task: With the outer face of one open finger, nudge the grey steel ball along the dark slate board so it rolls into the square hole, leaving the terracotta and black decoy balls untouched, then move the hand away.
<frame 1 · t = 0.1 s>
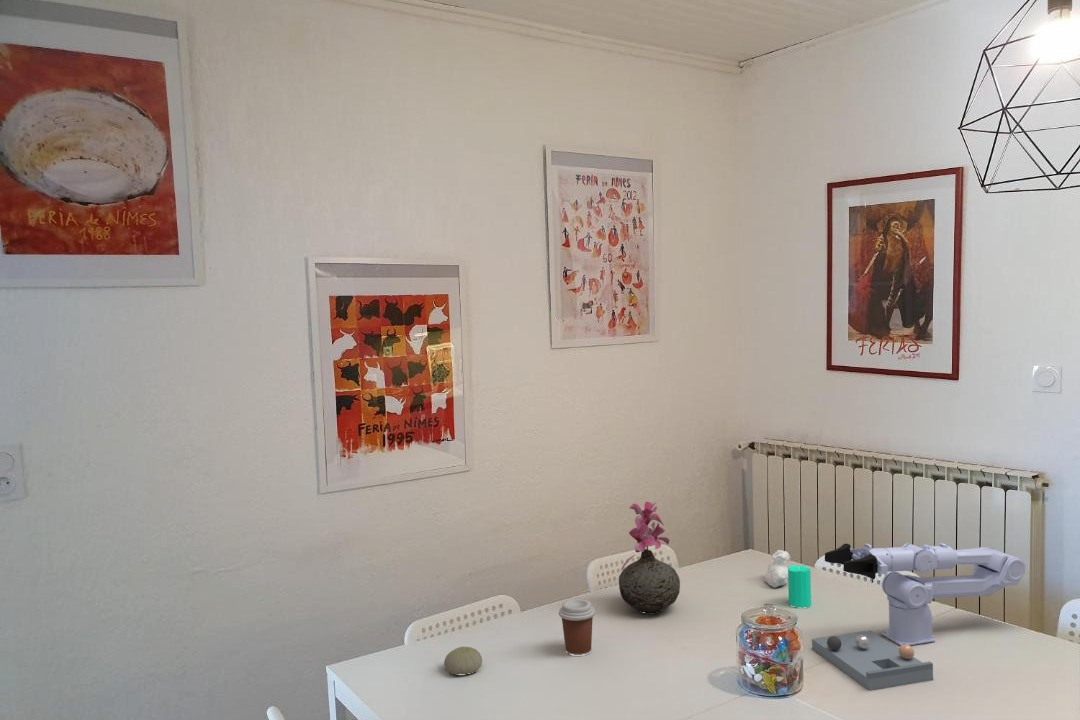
hand: (834, 562, 188), 22 cm above the table, tool horizontal, fingers open, 7 cm apart
board: (869, 663, 181), on the table
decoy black: (834, 643, 183), point 4 cm above the table, touching board
bust: (778, 584, 235), on the table
candle: (800, 605, 218), on the table
steel ball: (862, 642, 183), point 4 cm above the table, touching board
sea urchin shell: (463, 670, 187), on the table
vase: (649, 611, 219), on the table
coffee cup: (578, 651, 194), on the table
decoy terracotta: (906, 651, 177), point 4 cm above the table, touching board
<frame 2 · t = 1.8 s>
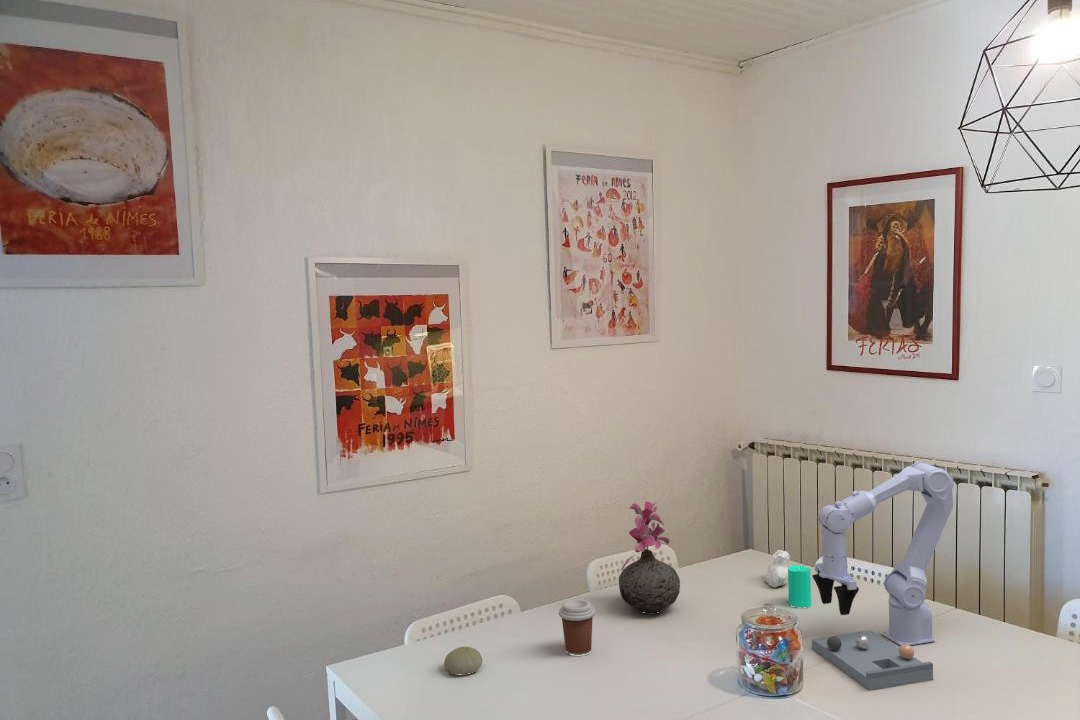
hand: (835, 608, 193), 8 cm above the table, tool pointing down, fingers open, 7 cm apart
nothing on the table moved.
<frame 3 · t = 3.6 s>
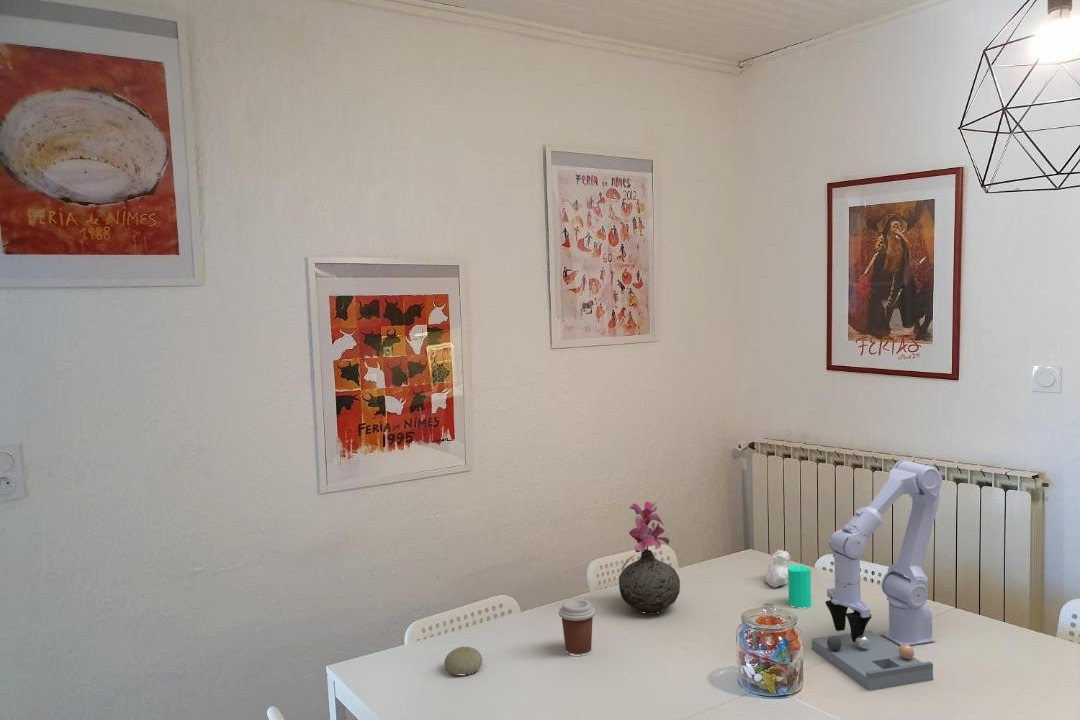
hand: (848, 635, 188), 3 cm above the table, tool pointing down, fingers open, 6 cm apart
steel ball: (862, 642, 183), point 4 cm above the table, touching board, gripper
everything else where it was.
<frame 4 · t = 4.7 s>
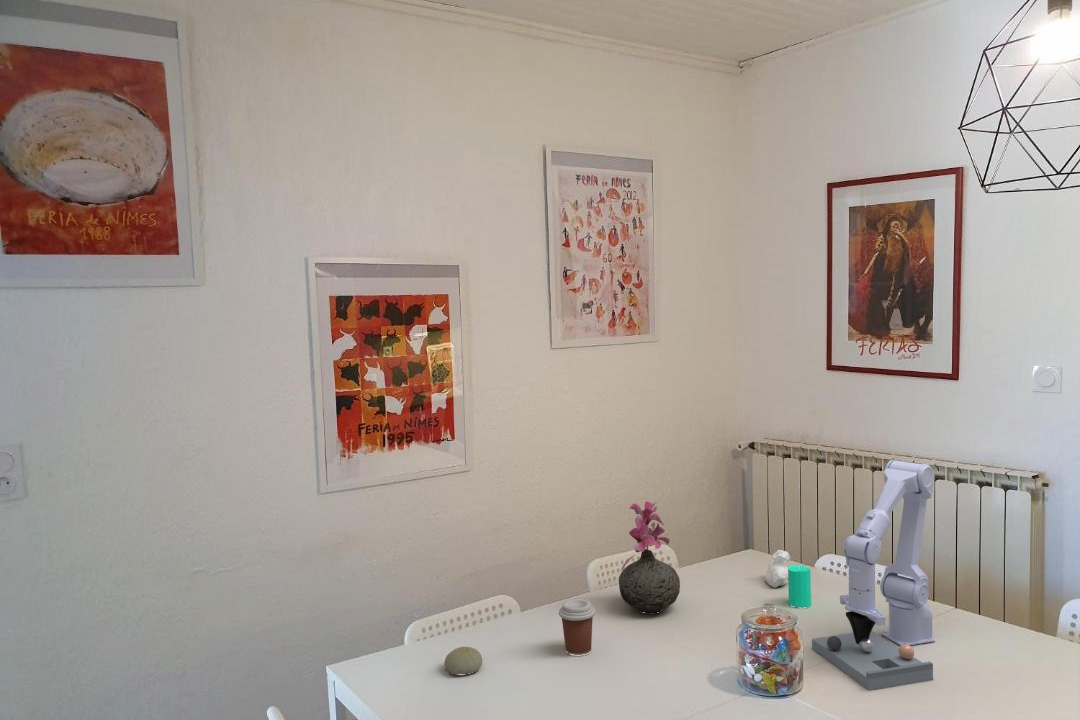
hand: (861, 644, 182), 4 cm above the table, tool pointing down, fingers closed, pressing on steel ball
steel ball: (866, 645, 181), point 4 cm above the table, tilted 62°, touching board, gripper
everything else where it was.
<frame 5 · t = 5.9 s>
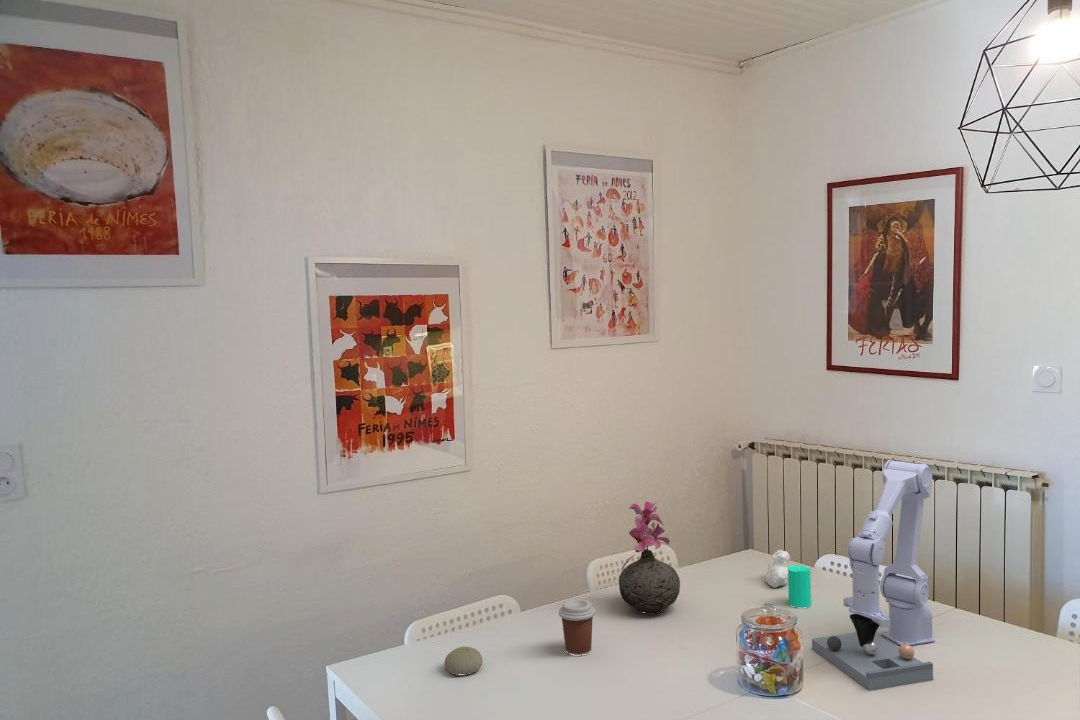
hand: (866, 646, 181), 4 cm above the table, tool pointing down, fingers closed, pressing on steel ball
steel ball: (870, 647, 180), point 4 cm above the table, tilted 116°, touching board, gripper
everything else where it was.
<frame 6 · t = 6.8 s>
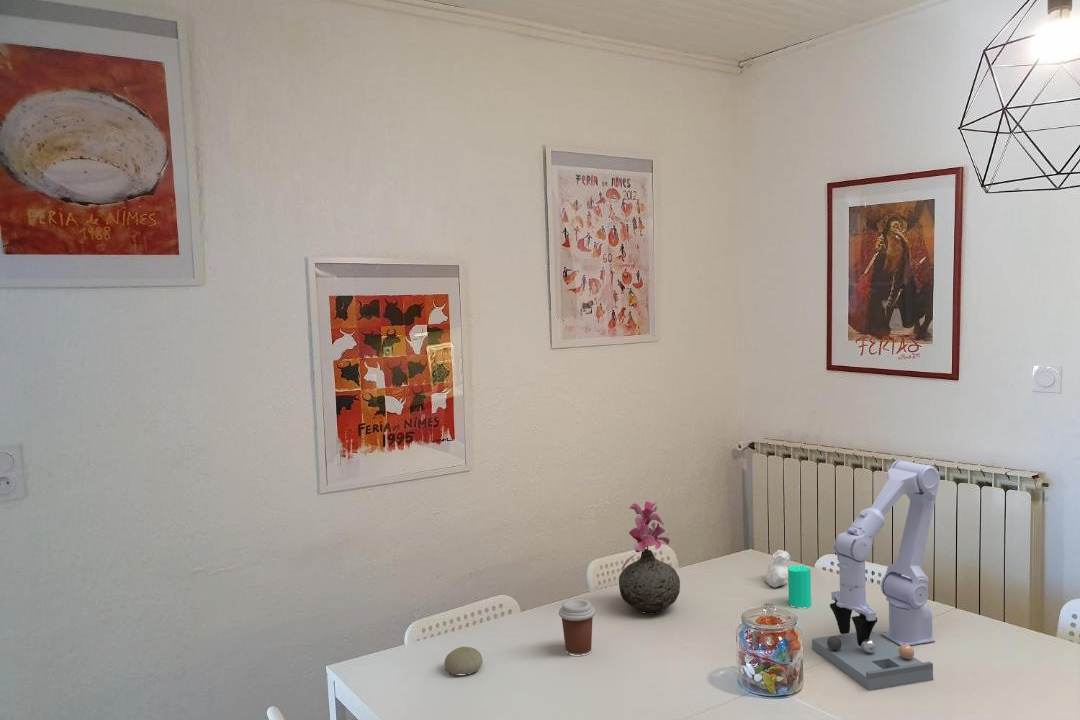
hand: (853, 639, 186), 3 cm above the table, tool pointing down, fingers open, 7 cm apart
steel ball: (868, 646, 181), point 4 cm above the table, tilted 84°, touching board, gripper
everything else where it was.
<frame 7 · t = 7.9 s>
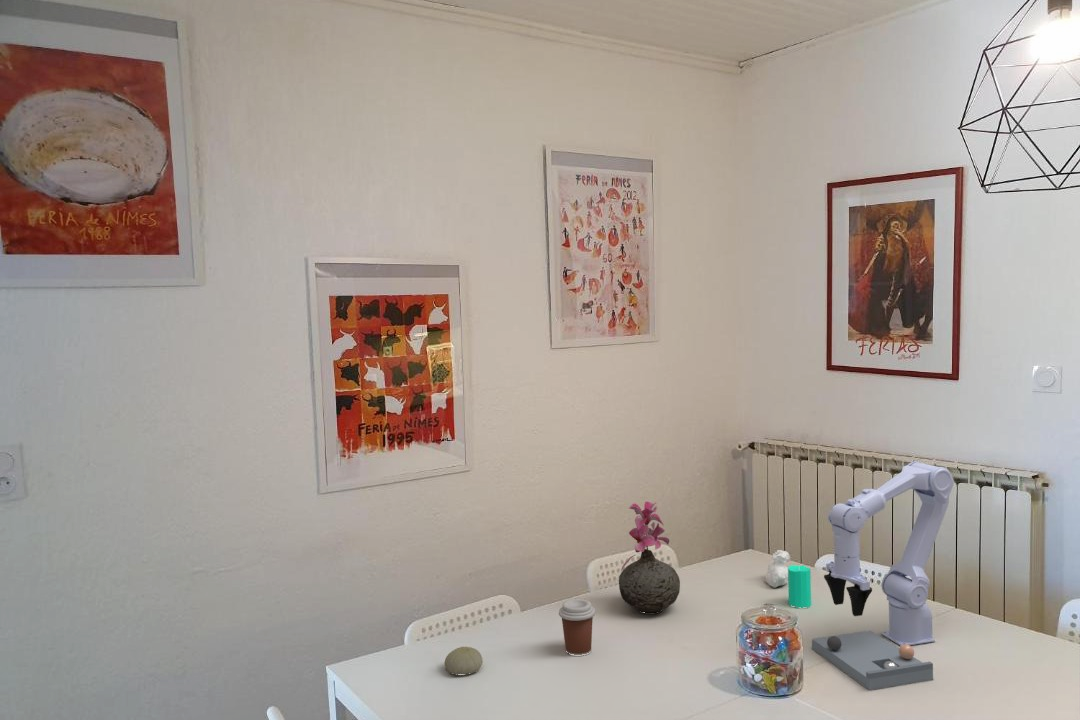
hand: (847, 609, 188), 10 cm above the table, tool pointing down, fingers open, 7 cm apart
steel ball: (890, 668, 174), point 2 cm above the table, tilted 22°
everything else where it was.
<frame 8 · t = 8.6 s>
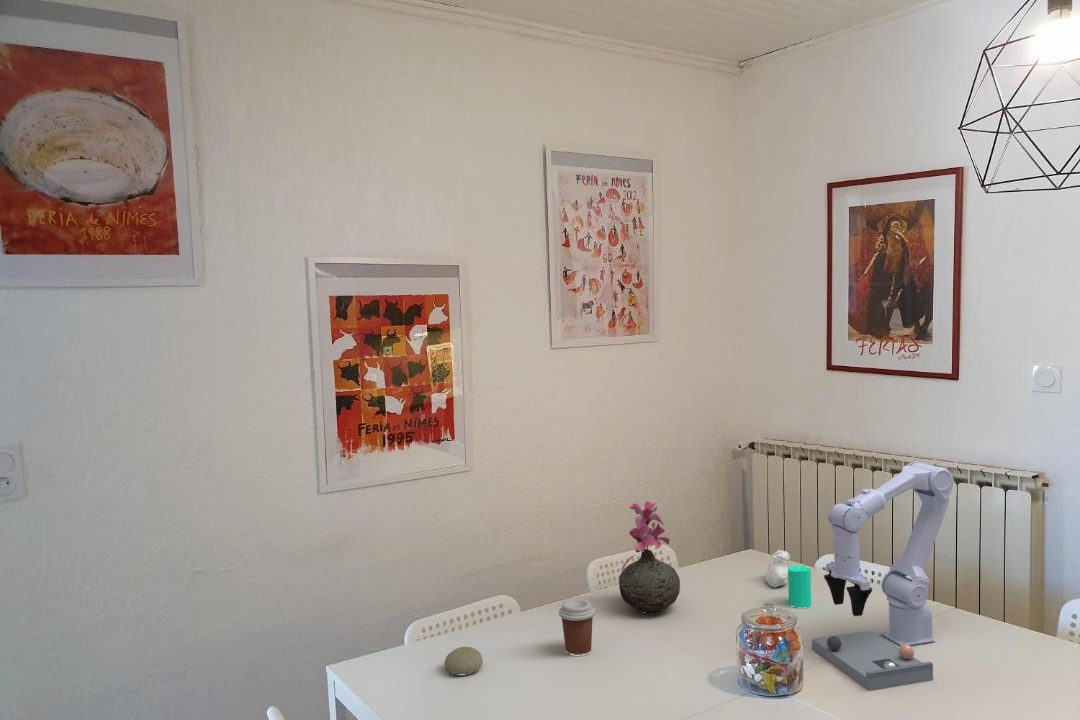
hand: (847, 609, 188), 10 cm above the table, tool pointing down, fingers open, 7 cm apart
steel ball: (890, 668, 175), point 2 cm above the table, tilted 22°
everything else where it was.
at the end: steel ball 0.8 cm from the target spot, point 1.6 cm above the table; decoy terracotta moved 0.1 cm from its start; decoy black moved 0.1 cm from its start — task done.
